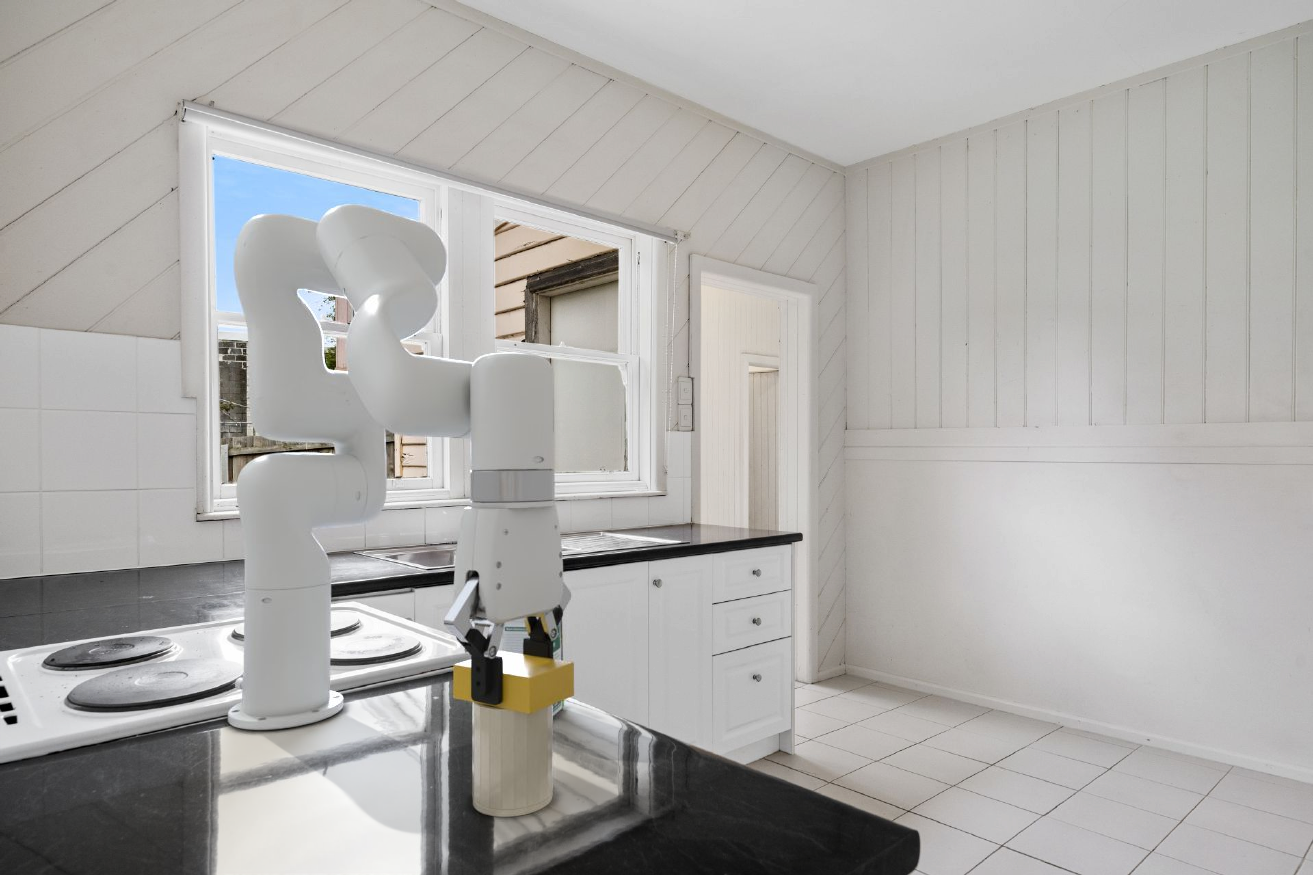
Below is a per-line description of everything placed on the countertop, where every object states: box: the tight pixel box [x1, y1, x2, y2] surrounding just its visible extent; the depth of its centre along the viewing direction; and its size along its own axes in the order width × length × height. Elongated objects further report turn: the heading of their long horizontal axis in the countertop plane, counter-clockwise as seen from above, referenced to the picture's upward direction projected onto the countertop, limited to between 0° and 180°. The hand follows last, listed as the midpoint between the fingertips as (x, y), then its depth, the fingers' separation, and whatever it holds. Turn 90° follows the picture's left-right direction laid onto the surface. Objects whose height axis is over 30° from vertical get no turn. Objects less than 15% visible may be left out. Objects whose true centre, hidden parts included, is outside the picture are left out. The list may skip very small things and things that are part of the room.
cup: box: [471, 702, 554, 818], centre depth 68 cm, size 7×7×9 cm
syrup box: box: [501, 617, 565, 717], centre depth 91 cm, size 6×6×14 cm
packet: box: [452, 650, 575, 714], centre depth 68 cm, size 9×6×3 cm, turn 58°
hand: (513, 690), depth 68 cm, fingers closed on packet, 6 cm apart
